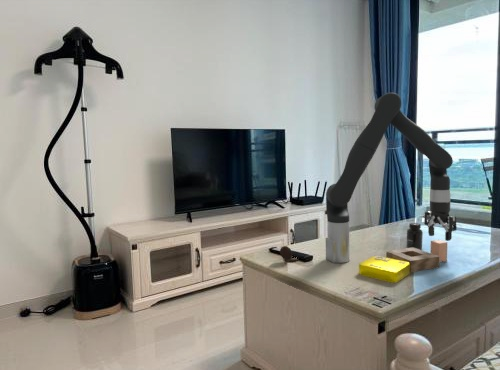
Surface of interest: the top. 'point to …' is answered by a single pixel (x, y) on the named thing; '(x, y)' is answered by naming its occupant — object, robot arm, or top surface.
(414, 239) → the supplement bottle
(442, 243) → the terracotta peg
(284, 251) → the compass
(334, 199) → the robot arm
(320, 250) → the top surface
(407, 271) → the element tile
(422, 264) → the walnut base
